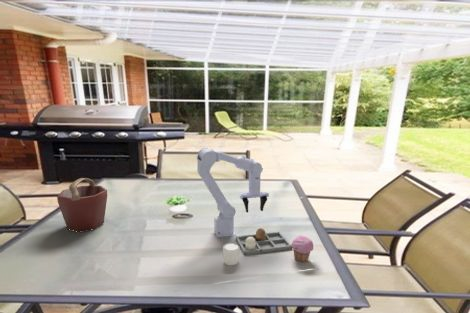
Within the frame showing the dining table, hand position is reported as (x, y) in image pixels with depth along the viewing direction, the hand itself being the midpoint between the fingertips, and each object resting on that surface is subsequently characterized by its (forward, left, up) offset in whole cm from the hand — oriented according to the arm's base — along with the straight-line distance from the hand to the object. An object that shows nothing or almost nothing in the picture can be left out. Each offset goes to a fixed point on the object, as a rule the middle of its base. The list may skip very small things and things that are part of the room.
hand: (254, 211), depth 157 cm
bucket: (-85, +25, -10) cm, 89 cm away
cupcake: (+10, -34, -10) cm, 37 cm away
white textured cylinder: (-19, -29, -10) cm, 36 cm away
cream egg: (-8, -22, -9) cm, 25 cm away
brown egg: (-1, -14, -9) cm, 17 cm away
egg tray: (-1, -18, -9) cm, 20 cm away
